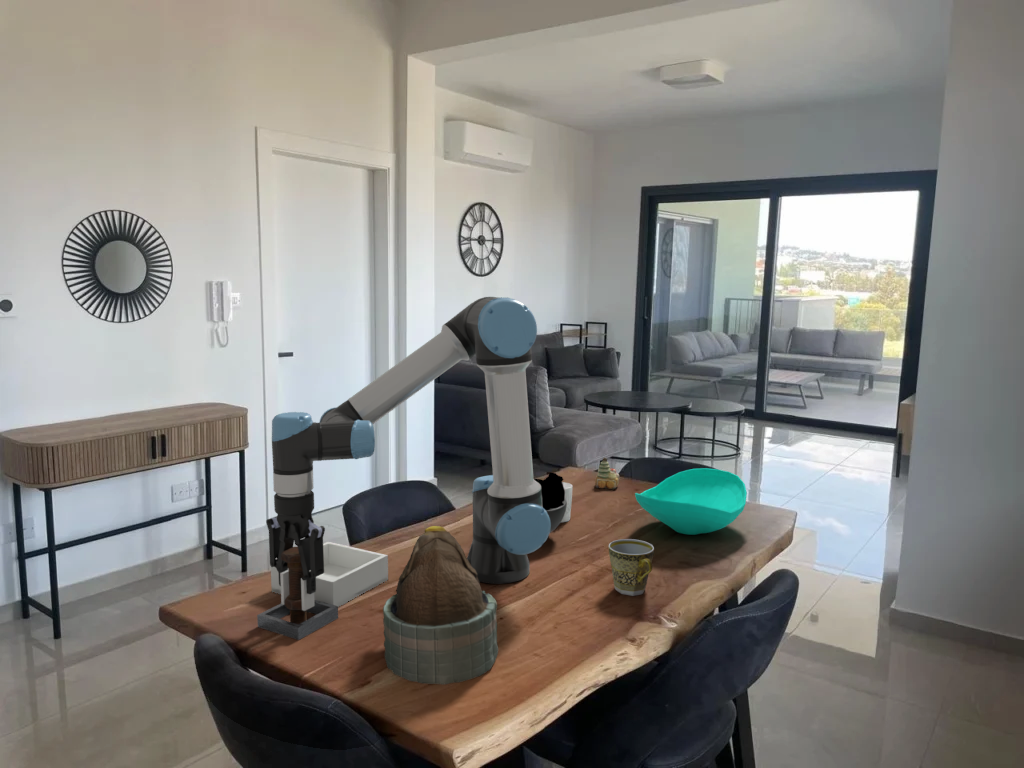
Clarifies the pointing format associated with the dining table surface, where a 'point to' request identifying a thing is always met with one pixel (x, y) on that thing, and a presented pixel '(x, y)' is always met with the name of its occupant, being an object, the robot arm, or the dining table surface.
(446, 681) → the decorative pot
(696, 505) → the table top decor
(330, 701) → the dining table surface
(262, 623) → the socket collar
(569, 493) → the white cup
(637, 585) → the ceramic cup
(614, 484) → the ornament
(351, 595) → the bin
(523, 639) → the dining table surface
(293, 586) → the bolt
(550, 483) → the bowl of black rocks
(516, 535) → the robot arm
